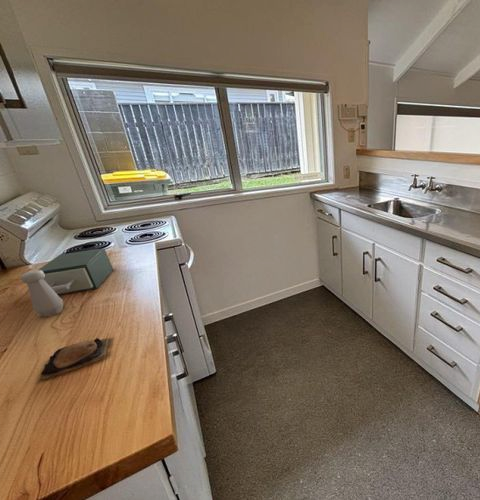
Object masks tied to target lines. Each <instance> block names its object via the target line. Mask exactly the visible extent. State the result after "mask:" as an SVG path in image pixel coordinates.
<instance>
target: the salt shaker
mask: <svg viewBox="0 0 480 500" xmlns="http://www.w3.org/2000/svg"><path fill="white" fill-rule="evenodd" d="M44 277H45V274H44V272H43V271H41V270H39V269H33V270H29V271H26V272H24V273H23V274H22V273H21V275H20V280H21V281H22V283H24V284H27V288H28V292H29V296H30V300H31V303H32V308H33V311H34V312H35V313H36V314H38V315H39V316H41V317H45V318H47V317H52V316H55V315H57V314H59V313H61V312H62V311H63V308H64V302H63V301H64V300H63V299H62V298H61V297H60V295H57V294H56V293H55V292H54V290H53V289H52V288H51V287H50V286H49V285H48V284H47V283H46V282H45V280H44V279H43V278H44Z"/></svg>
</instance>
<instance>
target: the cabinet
mask: <svg viewBox="0 0 480 500" xmlns="http://www.w3.org/2000/svg"><path fill="white" fill-rule="evenodd" d="M83 267H84V268H85V269H86V271H87V273H88V276H89V278H90V280H91V282H92V284H93V287H92V288H89V289H83V290H78V291H72V292H66V293H61V294H57V295H58V296H62V295H68V294H72V293H73V294H74V293H78V292H85V291H90V290H95V289H96V290H97V289H98V288H99V287H100V286H101V285H102V284H103V282H104V281H105V280H106V279H107V278H108V277H109V275H110V274H111V273H112V272H113V271H114V268H113V265H112V263H111V260H110V258H109V255H108V253H107V251H106V248H105V247H102V248H95V249H88V250H83V251H75V252H74V251H73V252H68V253H62V254H59V255H57V256H56V257H54V258H53V259H51V260H50V261H49V262H47V263H46V264H45V265H43V266H41V267H40V268H38V270H41V271H43V272H44V274H45V273H51V272H58V271H64V270H70V269H77V268H83Z"/></svg>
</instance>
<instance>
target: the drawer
mask: <svg viewBox="0 0 480 500" xmlns="http://www.w3.org/2000/svg"><path fill="white" fill-rule="evenodd" d="M43 279H44V280H45V282H46V283H47V284H48V285H49V286H50V287H51V288H52V289H53V290H54V292H55V293H56V294H61V293H66V292H72V291H78V290H83V289H89V288H92V287H93V284H92V282H91V280H90V278H89V276H88V273H87V271H86V269H85V268H84V267H83V268H77V269H70V270H64V271H58V272H51V273H45V277H44V278H43Z"/></svg>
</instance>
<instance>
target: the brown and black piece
mask: <svg viewBox="0 0 480 500" xmlns="http://www.w3.org/2000/svg"><path fill="white" fill-rule="evenodd" d="M108 345H109V338H102V339H100V338H99V337H96V338H95V339H94V340H93V339H90V340H89V339H88V340H83V341H78V342H75V343H72V344H70V345H66V346H63V347H61V348H58V349H57V350H55V352H53V354H52V355H51V356H49V360H48V362H47V363H46V364H44V368H43V370H42V371H41V372H40V375H41V380H42V381H43V380H47V379H50V378H54V377H56V376H57V377H58V376H59V375H63V374H65V373H68V372H69V371H73V370H76V369H77V370H78V369H80V368H83V367H84V366H88V365H90V364H92V363H94V362H97V361H101V360H104V359H105V358H106V356H107V355H106V354H107V350H108Z"/></svg>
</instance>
